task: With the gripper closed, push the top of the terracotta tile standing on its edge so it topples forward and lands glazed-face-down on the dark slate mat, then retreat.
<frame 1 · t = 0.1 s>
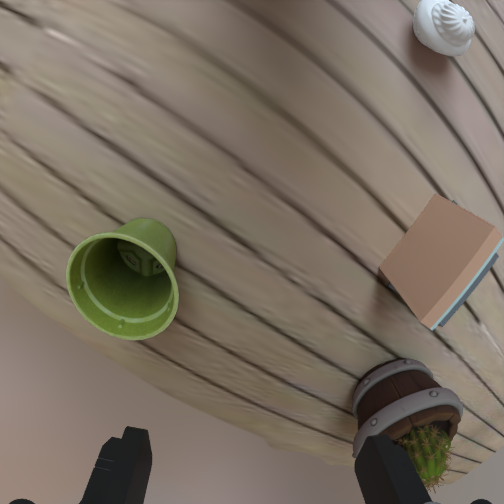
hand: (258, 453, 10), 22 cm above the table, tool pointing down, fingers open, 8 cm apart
flowerpot: (387, 381, 40), on the table
mat: (449, 269, 33), on the table
tile: (413, 235, 31), on the table
plant pot: (148, 246, 31), on the table
white citrus juicer: (425, 32, 22), on the table
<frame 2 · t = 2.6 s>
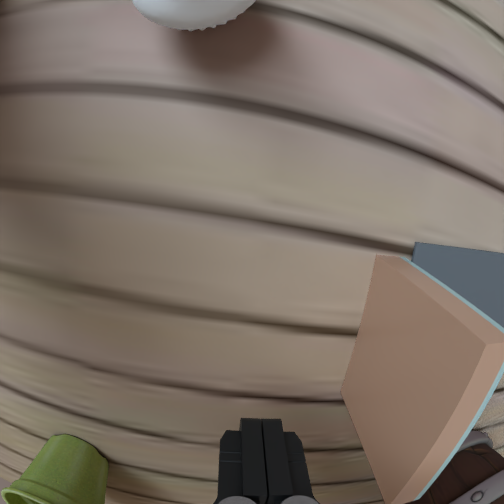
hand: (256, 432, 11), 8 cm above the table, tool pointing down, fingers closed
flowerpot: (435, 457, 25), on the table
mat: (458, 328, 20), on the table
tile: (372, 331, 19), on the table
plant pot: (80, 452, 22), on the table
white citrus juicer: (203, 6, 13), on the table
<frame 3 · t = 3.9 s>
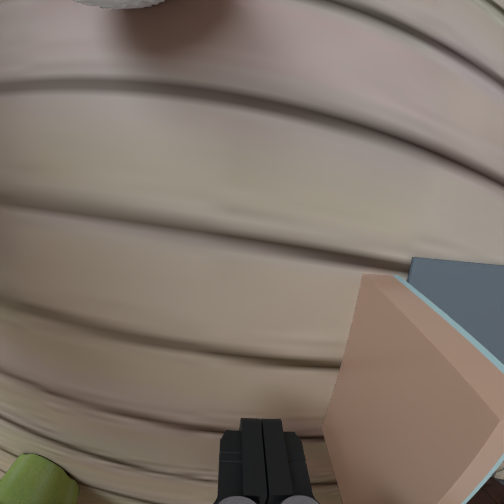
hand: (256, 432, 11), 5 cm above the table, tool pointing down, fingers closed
flowerpot: (433, 485, 21), on the table
mat: (462, 355, 16), on the table
tile: (358, 363, 16), on the table
plant pot: (51, 472, 19), on the table
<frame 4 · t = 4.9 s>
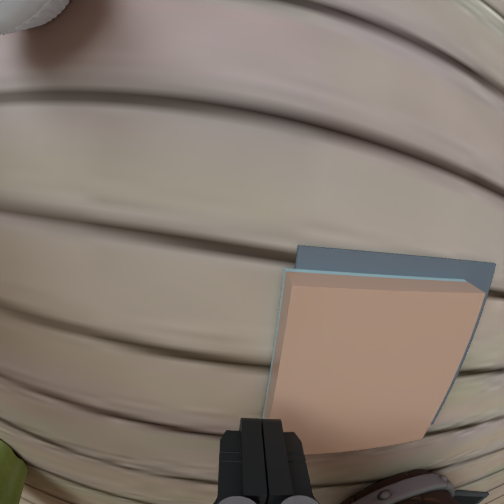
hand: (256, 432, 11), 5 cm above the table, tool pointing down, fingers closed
flowerpot: (384, 497, 21), on the table
mat: (387, 360, 16), on the table
tile: (273, 376, 14), point 1 cm above the table, tilted 90°, touching mat
plant pot: (4, 451, 18), on the table
white citrus juicer: (50, 1, 10), on the table
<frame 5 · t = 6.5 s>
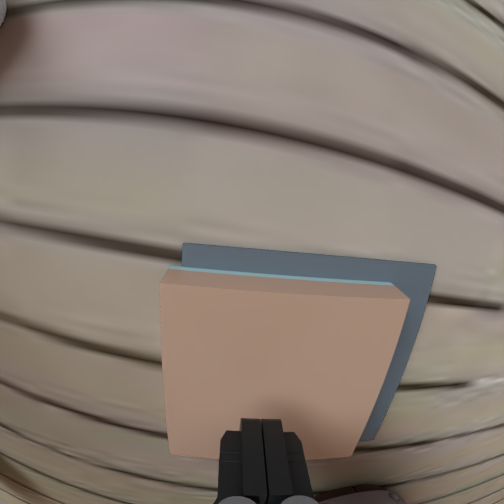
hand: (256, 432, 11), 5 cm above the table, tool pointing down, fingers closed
mat: (301, 368, 15), on the table
tile: (167, 374, 14), point 1 cm above the table, tilted 90°, touching mat
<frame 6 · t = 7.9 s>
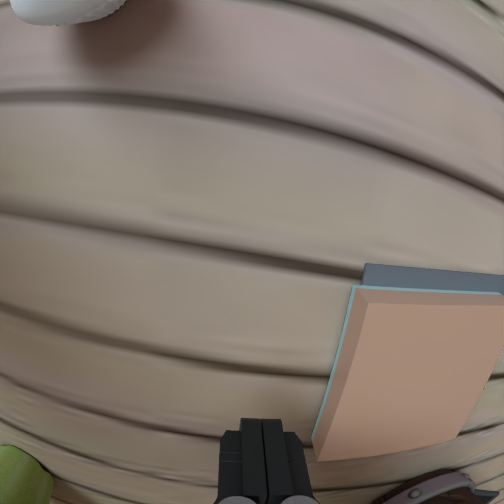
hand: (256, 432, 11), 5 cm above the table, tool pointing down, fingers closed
flowerpot: (409, 496, 21), on the table
mat: (429, 367, 16), on the table
tile: (335, 386, 14), point 1 cm above the table, tilted 90°, touching mat
plant pot: (28, 464, 19), on the table
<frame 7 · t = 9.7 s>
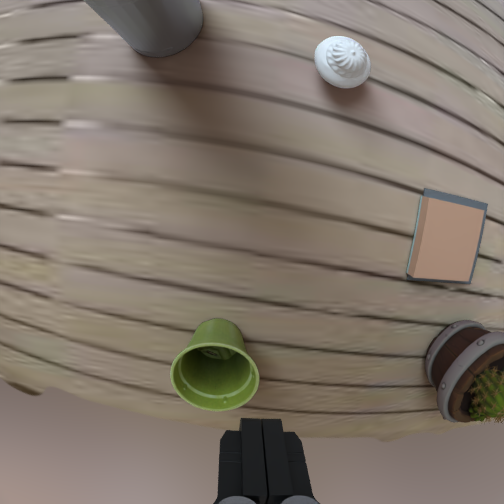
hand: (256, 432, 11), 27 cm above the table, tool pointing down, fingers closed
flowerpot: (449, 347, 43), on the table
mat: (450, 239, 37), on the table
tile: (418, 236, 36), point 1 cm above the table, tilted 90°, touching mat
plant pot: (218, 338, 40), on the table
white citrus juicer: (333, 70, 32), on the table
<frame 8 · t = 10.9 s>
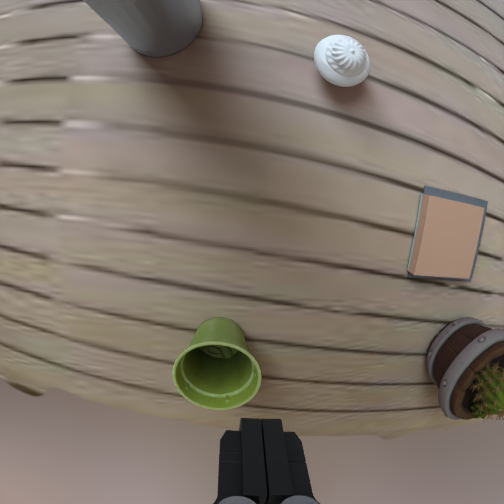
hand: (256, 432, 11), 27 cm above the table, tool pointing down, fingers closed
flowerpot: (450, 344, 43), on the table
mat: (451, 237, 38), on the table
tile: (418, 234, 36), point 1 cm above the table, tilted 90°, touching mat
plant pot: (220, 336, 40), on the table
white citrus juicer: (333, 68, 32), on the table
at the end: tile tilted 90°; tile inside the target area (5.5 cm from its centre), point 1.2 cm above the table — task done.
